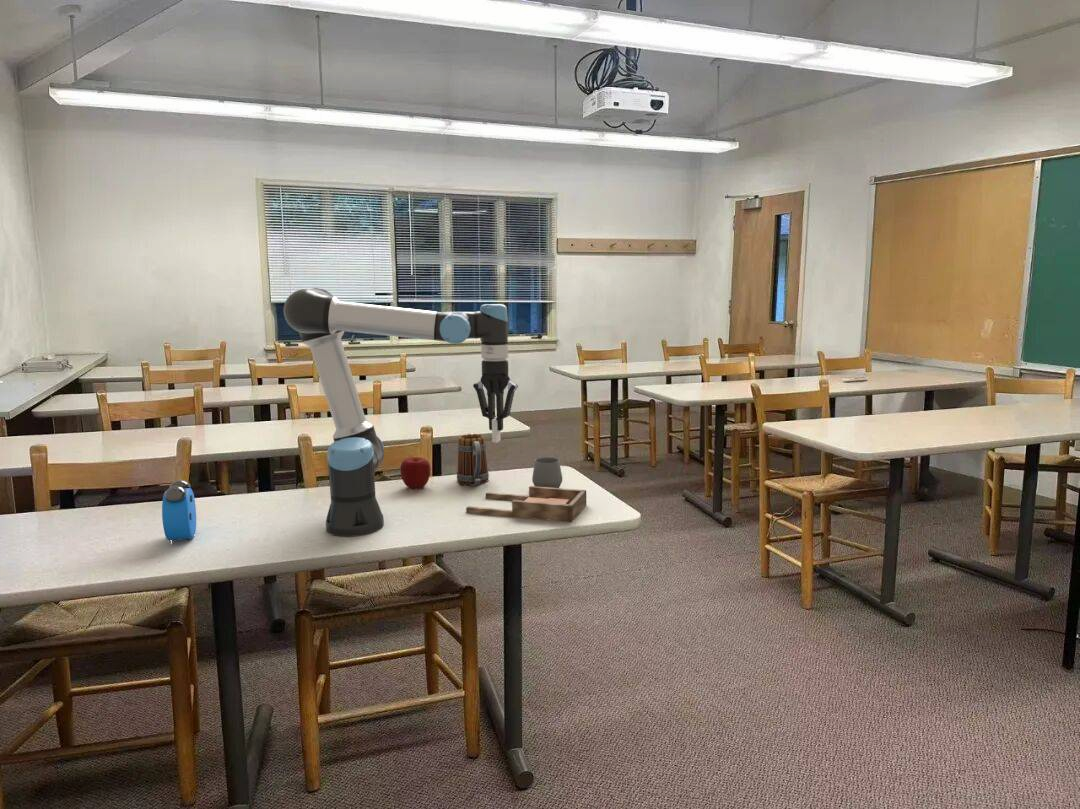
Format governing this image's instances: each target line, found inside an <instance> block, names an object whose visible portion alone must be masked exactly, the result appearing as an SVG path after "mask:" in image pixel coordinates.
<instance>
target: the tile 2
mask: <svg viewBox="0 0 1080 809" xmlns="http://www.w3.org/2000/svg"><path fill="white" fill-rule="evenodd" d="M545 503H557V504H569V500H567V499H555V498H549V499H548V500H547V501H546V502H545Z"/></svg>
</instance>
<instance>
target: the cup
mask: <svg viewBox="0 0 1080 809" xmlns="http://www.w3.org/2000/svg"><path fill="white" fill-rule="evenodd" d="M560 462H561V461H560V459H559V458H556V457H552V456H551V457H550V456H548V457H538V458H536V459H534V464H533V471H532V479H531V480H532V484H533V485H534V486H538V487H551V488H561V485H562V483H563V473H562V469H561V463H560Z"/></svg>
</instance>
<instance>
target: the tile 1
mask: <svg viewBox="0 0 1080 809" xmlns="http://www.w3.org/2000/svg"><path fill="white" fill-rule="evenodd" d="M547 500H548V499H544V498H533V497H528V498H527V499H526V500H525V501H533V502H546V501H547Z"/></svg>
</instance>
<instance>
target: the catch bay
mask: <svg viewBox="0 0 1080 809" xmlns="http://www.w3.org/2000/svg"><path fill="white" fill-rule="evenodd" d="M528 497H533V498H544V499H549V498H555V499H567V500H569V504H557V503H545V502H533V501H525V500H526V499H527V498H528ZM485 499H494V500H505V501H511V509H507V508H506V509H505V508H494V507H481V506H479V507H478V506H471V505H470V506H469V505H467V506H466V507H465V512H466V513H467V514H479V515H488V516H489V515H490V516H501V517H502V516H503V517H512V518H521V519H535V520H543V521H544V520H546V521H554V522H566V523H567V522H568V523H573V522H574V520H575V519H576V518H577V517H578V516H579V515H580V513H581V512H582V511H583V510H584V508H585V507H586V506H587V490H586V489H577V488H576V489H575V488H563V487H562V488H561V487H559V488H551V487H538V486H533V485H529V487H528V495H526V494H514V493H504V492H503V493H501V492H489V491H488V492H485Z"/></svg>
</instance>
